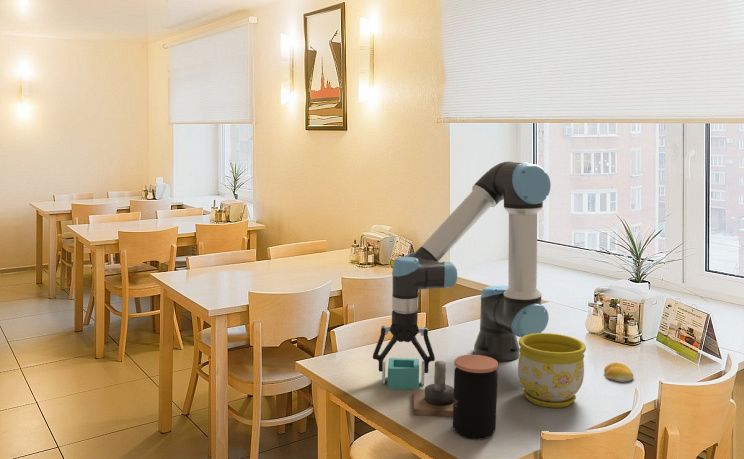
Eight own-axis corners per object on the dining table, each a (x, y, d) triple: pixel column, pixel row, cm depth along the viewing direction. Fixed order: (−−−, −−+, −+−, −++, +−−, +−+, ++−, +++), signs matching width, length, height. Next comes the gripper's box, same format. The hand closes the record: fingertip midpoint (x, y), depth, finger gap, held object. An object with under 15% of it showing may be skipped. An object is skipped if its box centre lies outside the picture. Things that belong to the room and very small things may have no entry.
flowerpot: (539, 381, 198) (541, 328, 196) (594, 399, 185) (598, 343, 183) (503, 397, 186) (505, 341, 183) (560, 418, 173) (563, 358, 170)
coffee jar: (464, 417, 172) (466, 351, 170) (502, 428, 166) (505, 360, 164) (444, 432, 164) (446, 363, 161) (484, 444, 158) (487, 372, 155)
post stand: (463, 395, 187) (464, 354, 185) (467, 416, 173) (468, 373, 171) (413, 393, 188) (414, 353, 186) (413, 414, 174) (414, 371, 172)
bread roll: (607, 381, 199) (608, 369, 199) (602, 371, 208) (603, 359, 207) (636, 384, 198) (636, 371, 197) (630, 373, 206) (630, 361, 206)
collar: (418, 377, 200) (418, 358, 199) (418, 389, 191) (419, 369, 190) (388, 376, 200) (388, 357, 199) (387, 388, 191) (387, 368, 191)
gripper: (444, 308, 195) (442, 379, 199) (365, 305, 197) (364, 376, 200) (445, 315, 188) (443, 388, 191) (363, 312, 189) (363, 385, 193)
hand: (403, 382), depth 196 cm, fingers open, 11 cm apart
